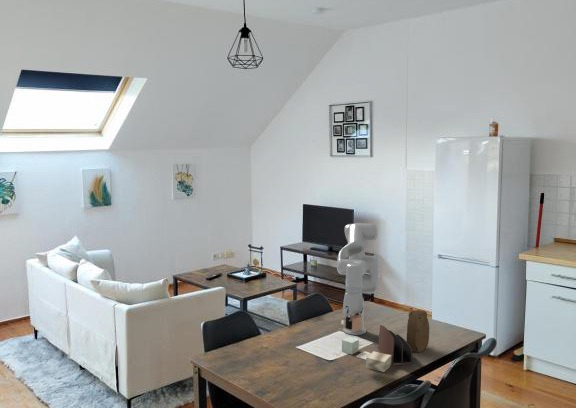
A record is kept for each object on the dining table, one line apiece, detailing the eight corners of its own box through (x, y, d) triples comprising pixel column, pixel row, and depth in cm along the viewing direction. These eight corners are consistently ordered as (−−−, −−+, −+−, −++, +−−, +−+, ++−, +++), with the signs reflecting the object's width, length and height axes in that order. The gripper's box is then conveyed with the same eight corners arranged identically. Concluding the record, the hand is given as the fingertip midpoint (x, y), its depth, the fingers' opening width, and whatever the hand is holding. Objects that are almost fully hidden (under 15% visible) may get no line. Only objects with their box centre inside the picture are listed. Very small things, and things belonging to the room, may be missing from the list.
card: (355, 356, 262) (355, 355, 261) (364, 352, 268) (364, 351, 267) (369, 361, 256) (369, 360, 256) (378, 356, 262) (378, 355, 262)
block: (415, 354, 266) (417, 315, 263) (404, 349, 272) (406, 310, 269) (430, 349, 272) (432, 311, 269) (419, 344, 278) (420, 307, 276)
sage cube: (341, 351, 268) (342, 339, 267) (348, 348, 273) (348, 336, 272) (351, 354, 264) (352, 343, 263) (358, 351, 269) (358, 339, 268)
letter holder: (391, 366, 252) (392, 336, 250) (377, 349, 271) (378, 322, 270) (412, 364, 254) (413, 335, 252) (396, 348, 273) (397, 321, 271)
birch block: (365, 368, 249) (366, 357, 249) (373, 361, 257) (373, 351, 257) (384, 372, 245) (384, 361, 244) (391, 365, 253) (391, 355, 252)
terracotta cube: (343, 328, 252) (344, 316, 252) (351, 325, 257) (351, 313, 256) (354, 331, 249) (354, 319, 248) (361, 328, 253) (362, 316, 252)
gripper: (357, 284, 259) (356, 320, 262) (336, 291, 247) (335, 329, 249) (370, 287, 254) (369, 324, 257) (349, 295, 242) (348, 333, 244)
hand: (352, 326), depth 253 cm, fingers closed on terracotta cube, 6 cm apart
